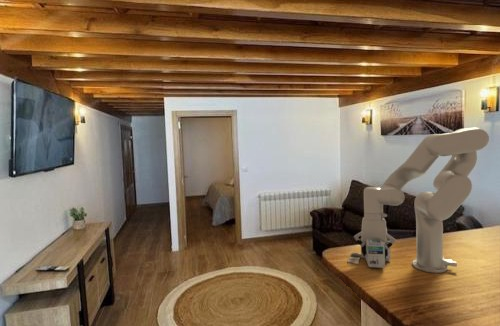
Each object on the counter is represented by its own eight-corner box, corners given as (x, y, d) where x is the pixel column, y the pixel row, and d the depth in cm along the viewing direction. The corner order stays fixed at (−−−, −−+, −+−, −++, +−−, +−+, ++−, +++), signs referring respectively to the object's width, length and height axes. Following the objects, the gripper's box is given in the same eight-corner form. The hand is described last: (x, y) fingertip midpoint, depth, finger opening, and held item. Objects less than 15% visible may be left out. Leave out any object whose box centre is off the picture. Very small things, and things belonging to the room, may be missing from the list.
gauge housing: (390, 257, 138) (390, 236, 137) (389, 268, 127) (389, 245, 126) (351, 253, 145) (351, 232, 144) (347, 262, 134) (347, 240, 134)
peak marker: (358, 254, 140) (358, 253, 140) (357, 255, 139) (357, 253, 139) (352, 254, 141) (352, 252, 141) (352, 254, 141) (352, 253, 141)
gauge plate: (390, 260, 134) (389, 240, 133) (390, 261, 133) (389, 241, 132) (351, 255, 141) (350, 237, 140) (350, 256, 140) (350, 237, 139)
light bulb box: (385, 268, 124) (385, 242, 123) (368, 267, 126) (367, 242, 125) (380, 258, 135) (380, 234, 134) (364, 257, 136) (364, 234, 135)
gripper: (396, 215, 128) (397, 255, 129) (353, 212, 136) (354, 250, 137) (396, 219, 121) (397, 262, 123) (351, 216, 129) (352, 256, 130)
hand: (374, 255), depth 130 cm, fingers closed on light bulb box, 7 cm apart
